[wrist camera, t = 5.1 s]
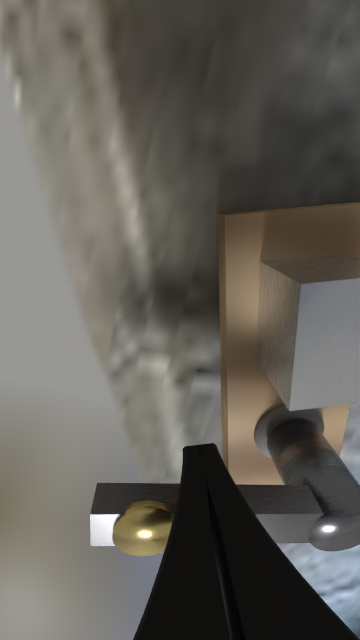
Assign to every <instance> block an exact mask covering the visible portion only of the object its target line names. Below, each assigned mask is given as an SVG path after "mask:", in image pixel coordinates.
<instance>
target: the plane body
mask: <svg viewBox="0 0 360 640" xmlns="http://www.w3.org/2000/svg"><path fill="white" fill-rule="evenodd" d="M217 229H218V270H219V310H220V351H221V392H222V433H223V462H224V464H225V466H226V468H227V470H228V471H229V473H230V475H231V477H232V479H233V480H234V482H235V484H248V485H284V484H283V482H282V480H281V477H280V475H279V473H278V471H277V468H276V466H275V464H274V462H273V460H272V457H271V455H270V453H269V451H268V448H267V439H268V436H269V434H270V433H271V432H272V430H273V429H274V428H275V427H277V426H278V425H279V424H281V423H283V422H285V421H288V420H291V419H307V420H310V421H312V422H313V423H315V424H316V425H317V427H318V428H319V430H320V431H321V432H322V434H323V435H324V436H325V438H326V439H327V441H328V442H329V443H330V445H331V446H332V448H333V449H334V450H335V452H336V453H337V454H338V456H340V451H341V446H342V441H343V436H344V431H345V426H346V421H347V416H348V411H349V406H350V404H346V405H337V406H329V407H320V408H312V409H303V410H295V411H289V410H288V409H287V407H286V405H285V404H284V402H283V401H282V399H281V398H280V396H279V394H278V393H277V391H276V390H275V388H274V387H273V385H272V384H271V382H270V380H269V379H268V377H267V376H266V374H265V373H264V371H263V369H262V368H261V366H260V365H259V363H258V362H257V360H256V354H257V324H258V294H259V264H260V261H266V260H277V259H287V258H298V257H309V256H319V255H330V254H340V253H351V254H355V255H359V256H360V202H352V203H340V204H329V205H317V206H306V207H294V208H283V209H271V210H260V211H249V212H237V213H226V214H217Z"/></svg>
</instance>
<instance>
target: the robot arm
mask: <svg viewBox="0 0 360 640" xmlns="http://www.w3.org/2000/svg"><path fill="white" fill-rule="evenodd" d="M222 595H223V596H222ZM224 606H225V607H224ZM133 640H360V639H359V638H358V637H357V636H356V635H355V634H354V633H353V632H352V631H351V630H350V629H349V628H348V627H347V626H346V625H345V624H344V622H343V621H342V620H341V619H340V618H339V617H338V616H337V615H336V614H335V613H334V612H333V611H332V610H331V608H330V607H329V606H328V605H327V604H326V603H325V602H324V601H323V599H322V598H321V597H320V596H319V595H318V594H317V593H316V591H315V590H314V589H313V588H312V587H311V586H310V585H309V583H308V582H307V581H306V580H305V579H304V578H303V577H302V575H301V574H300V573H299V572H298V571H297V569H296V568H295V567H294V566H293V564H292V563H291V562H290V561H289V559H288V558H287V557H286V556H285V555H284V553H283V552H282V551H281V549H280V548H279V547H278V545H277V544H276V543H275V542H274V540H273V539H272V538H271V536H270V535H269V534H268V532H267V531H266V529H265V528H264V527H263V525H262V524H261V522H260V521H259V519H258V518H257V517H256V515H255V514H254V512H253V511H252V509H251V508H250V506H249V505H248V503H247V502H246V500H245V498H244V497H243V495H242V494H241V492H240V490H239V489H238V487H237V485H236V484H235V482H234V480H233V479H232V477H231V475H230V473H229V471H228V470H227V468H226V466H225V464H224V462H223V460H222V458H221V456H220V454H219V451H218V449H217V446H216V445H215V444H214V443H211V444H202V445H194V446H185V447H184V448H183V466H182V475H181V482H180V488H179V493H178V499H177V504H176V509H175V513H174V517H173V521H172V525H171V529H170V533H169V537H168V541H167V544H166V548H165V551H164V554H163V558H162V561H161V564H160V567H159V571H158V574H157V577H156V579H155V582H154V585H153V588H152V592H151V594H150V597H149V600H148V603H147V605H146V608H145V611H144V614H143V617H142V619H141V621H140V624H139V626H138V629H137V632H136V634H135V637H134V639H133Z"/></svg>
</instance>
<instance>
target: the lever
mask: <svg viewBox="0 0 360 640" xmlns="http://www.w3.org/2000/svg"><path fill="white" fill-rule="evenodd" d="M267 448H268V451H269V453H270V455H271V457H272V460H273V462H274V464H275V466H276V468H277V471H278V473H279V475H280V477H281V480H282V482H283V484H284V485H248V484H236V485H237V487H238V489H239V490H240V492H241V494H242V495H243V497H244V498H245V500H246V502H247V503H248V505H249V506H250V508H251V509H252V511H253V512H254V514H255V515H256V517H257V518H258V519H259V521H260V522H261V524H262V525H263V527H264V528H265V529H266V531H267V532H268V534H269V535H270V536H271V538H272V539H273V540H274V542H275V543H311V544H312V545H313V546H314V547H316V548H317V549H320V550H324V551H340V550H345V549H349V548H352V547H355V546H357V545H359V544H360V485H359V484H358V482H357V481H356V479H355V478H354V477H353V475H352V474H351V472H350V471H349V470H348V468H347V467H346V466H345V464H344V463H343V461H342V460H341V459H340V457H339V456H338V454H337V453H336V452H335V450H334V449H333V448H332V446H331V445H330V443H329V442H328V441H327V439H326V438H325V436H324V435H323V434H322V432H321V431H320V430H319V428H318V427H317V425H316V424H315V423H313V422H312V421H310V420H307V419H291V420H288V421H285V422H283V423H281V424H279V425H278V426H277V427H275V428H274V429H273V430H272V432H271V433H270V434H269V436H268V439H267ZM179 488H180V484H156V483H97V486H96V491H95V496H94V500H93V505H92V509H91V514H90V526H91V528H90V529H91V546H116V547H117V548H118V549H119V550H121V551H122V552H124V553H127V554H130V555H135V556H150V555H155V554H159V553H161V552H164V551H165V548H166V544H167V541H168V537H169V533H170V529H171V525H172V521H173V517H174V513H175V509H176V504H177V499H178V493H179Z"/></svg>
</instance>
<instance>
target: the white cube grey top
mask: <svg viewBox="0 0 360 640" xmlns="http://www.w3.org/2000/svg"><path fill="white" fill-rule="evenodd" d="M256 360H257V362H258V363H259V365H260V366H261V368H262V369H263V371H264V373H265V374H266V376H267V377H268V379H269V380H270V382H271V384H272V385H273V387H274V388H275V390H276V391H277V393H278V394H279V396H280V398H281V399H282V401H283V402H284V404H285V405H286V407H287V409H288V410H289V411H295V410H303V409H312V408H320V407H329V406H337V405H346V404H354V403H360V256H359V255H355V254H351V253H340V254H330V255H319V256H309V257H298V258H287V259H277V260H266V261H260V264H259V294H258V324H257V354H256Z"/></svg>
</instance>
